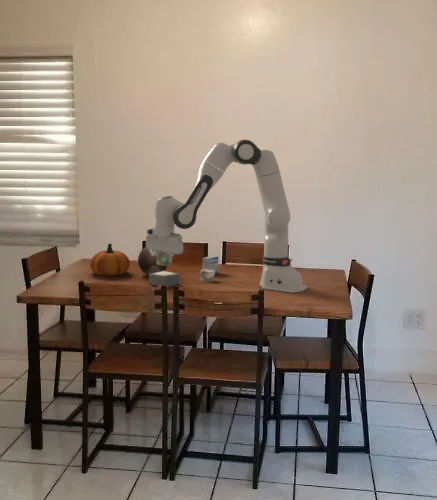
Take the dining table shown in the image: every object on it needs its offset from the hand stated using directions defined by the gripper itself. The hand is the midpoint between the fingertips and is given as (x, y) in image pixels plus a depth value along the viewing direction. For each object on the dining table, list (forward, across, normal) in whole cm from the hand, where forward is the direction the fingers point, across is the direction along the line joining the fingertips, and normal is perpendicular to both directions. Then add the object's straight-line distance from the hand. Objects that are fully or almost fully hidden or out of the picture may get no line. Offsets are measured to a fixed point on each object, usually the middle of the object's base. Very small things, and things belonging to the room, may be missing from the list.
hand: (164, 261), depth 284 cm
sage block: (+2, 0, 0) cm, 2 cm away
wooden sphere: (+11, +17, -11) cm, 23 cm away
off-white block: (+11, -10, -20) cm, 25 cm away
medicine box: (+11, -2, -33) cm, 35 cm away
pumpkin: (+12, +35, +1) cm, 37 cm away
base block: (+11, 0, 0) cm, 11 cm away
